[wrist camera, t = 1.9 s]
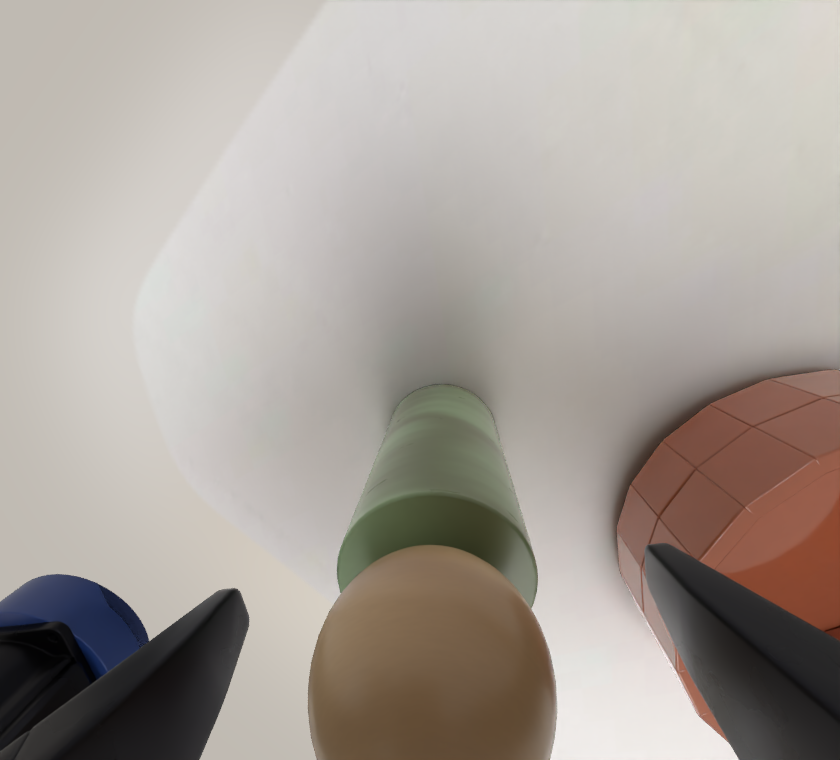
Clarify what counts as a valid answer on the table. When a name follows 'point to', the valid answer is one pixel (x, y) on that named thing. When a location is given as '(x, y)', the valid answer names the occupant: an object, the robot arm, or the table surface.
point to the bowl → (746, 504)
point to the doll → (435, 603)
